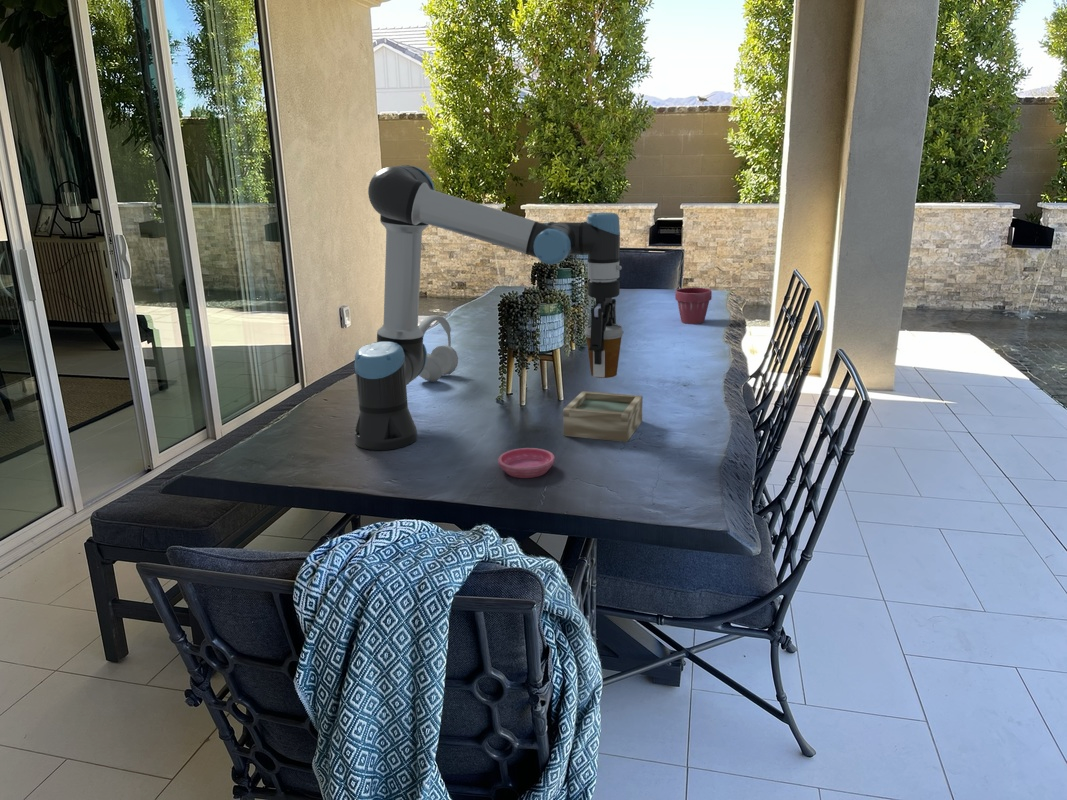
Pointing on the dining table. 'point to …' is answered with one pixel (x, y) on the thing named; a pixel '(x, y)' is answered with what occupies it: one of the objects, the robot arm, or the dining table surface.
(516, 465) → the saucer
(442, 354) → the headphones
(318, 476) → the dining table surface
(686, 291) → the plant pot
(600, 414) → the open wooden box
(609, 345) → the disposable coffee cup
